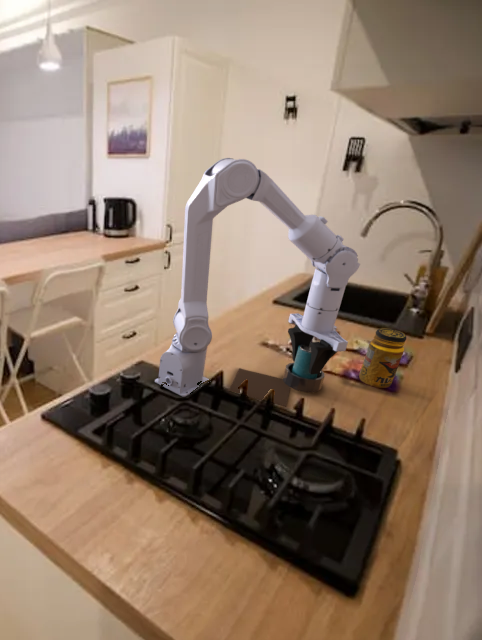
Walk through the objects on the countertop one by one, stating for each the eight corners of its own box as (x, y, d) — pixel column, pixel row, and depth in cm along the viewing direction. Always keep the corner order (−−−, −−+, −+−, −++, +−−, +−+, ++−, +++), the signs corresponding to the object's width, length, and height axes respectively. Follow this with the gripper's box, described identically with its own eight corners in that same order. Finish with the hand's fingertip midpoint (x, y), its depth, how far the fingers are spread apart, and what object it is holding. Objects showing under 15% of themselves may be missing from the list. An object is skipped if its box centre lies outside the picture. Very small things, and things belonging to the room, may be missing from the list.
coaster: (285, 409, 79) (286, 406, 78) (227, 393, 83) (228, 391, 83) (291, 383, 87) (291, 380, 87) (238, 370, 92) (239, 368, 92)
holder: (311, 398, 82) (315, 383, 80) (276, 383, 87) (279, 369, 85) (326, 386, 86) (330, 371, 85) (291, 372, 91) (295, 359, 90)
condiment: (393, 394, 84) (413, 342, 79) (346, 383, 87) (363, 333, 82) (390, 379, 89) (409, 329, 84) (346, 369, 93) (362, 321, 88)
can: (308, 391, 83) (318, 355, 80) (285, 381, 87) (294, 347, 83) (317, 383, 86) (328, 349, 83) (295, 374, 90) (305, 341, 86)
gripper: (369, 318, 73) (348, 383, 79) (315, 293, 86) (300, 350, 92) (335, 321, 72) (316, 386, 78) (285, 294, 85) (272, 352, 91)
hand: (306, 367), depth 85 cm, fingers closed on can, 5 cm apart
